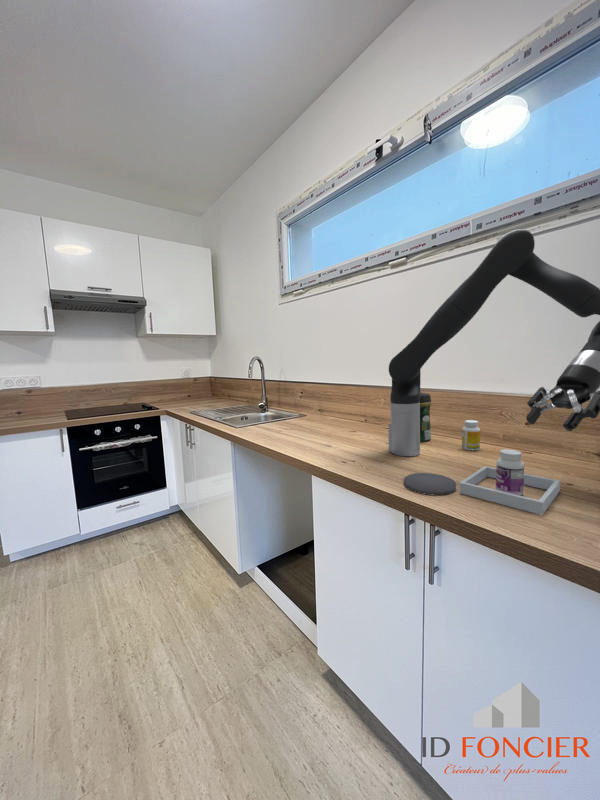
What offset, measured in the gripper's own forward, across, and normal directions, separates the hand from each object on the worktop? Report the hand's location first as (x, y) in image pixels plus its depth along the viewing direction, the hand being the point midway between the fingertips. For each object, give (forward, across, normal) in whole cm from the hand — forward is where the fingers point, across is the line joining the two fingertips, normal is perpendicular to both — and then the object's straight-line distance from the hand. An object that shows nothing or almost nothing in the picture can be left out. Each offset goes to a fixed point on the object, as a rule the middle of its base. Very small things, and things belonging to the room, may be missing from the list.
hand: (547, 425), depth 74 cm
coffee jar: (+10, -50, +11) cm, 52 cm away
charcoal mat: (+28, -10, -7) cm, 30 cm away
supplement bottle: (+4, -31, +17) cm, 36 cm away
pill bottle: (+18, 0, +3) cm, 18 cm away
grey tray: (+18, 0, +3) cm, 18 cm away
